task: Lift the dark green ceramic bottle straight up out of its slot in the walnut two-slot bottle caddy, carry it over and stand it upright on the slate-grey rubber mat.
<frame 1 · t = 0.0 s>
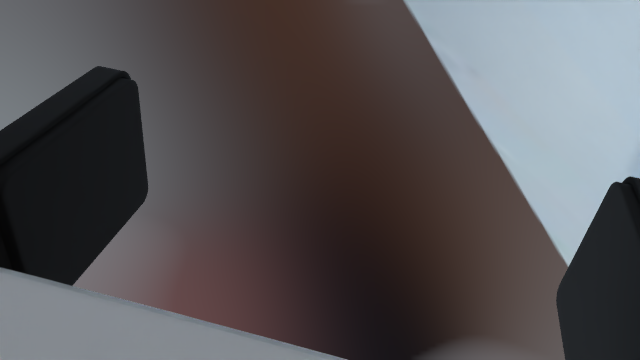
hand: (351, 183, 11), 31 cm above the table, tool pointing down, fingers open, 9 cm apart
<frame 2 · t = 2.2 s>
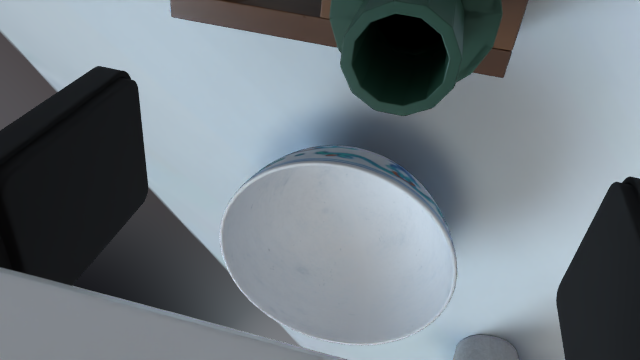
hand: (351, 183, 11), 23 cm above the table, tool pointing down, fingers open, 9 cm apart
chinaware: (355, 191, 40), on the table
house plant: (469, 349, 47), on the table
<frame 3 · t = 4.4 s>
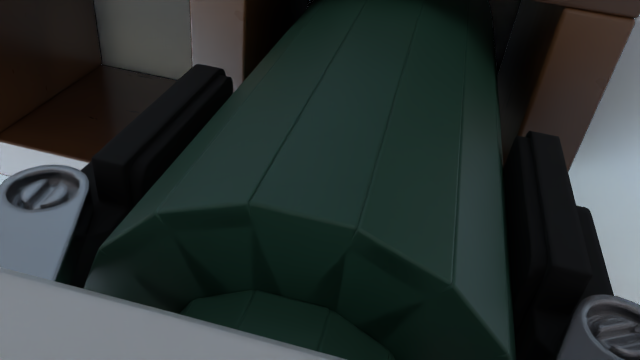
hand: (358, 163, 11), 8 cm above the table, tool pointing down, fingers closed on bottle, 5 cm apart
bottle: (402, 36, 18), resting in caddy, touching gripper
caddy: (286, 14, 18), on the table
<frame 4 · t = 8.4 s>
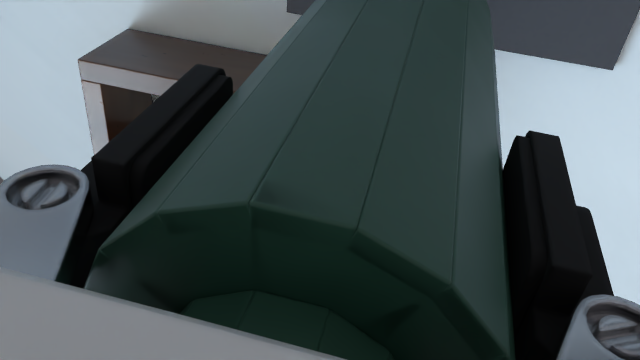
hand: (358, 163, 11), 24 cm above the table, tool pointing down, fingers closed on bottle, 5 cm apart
bottle: (401, 38, 18), point 16 cm above the table, touching gripper
caddy: (242, 110, 40), on the table
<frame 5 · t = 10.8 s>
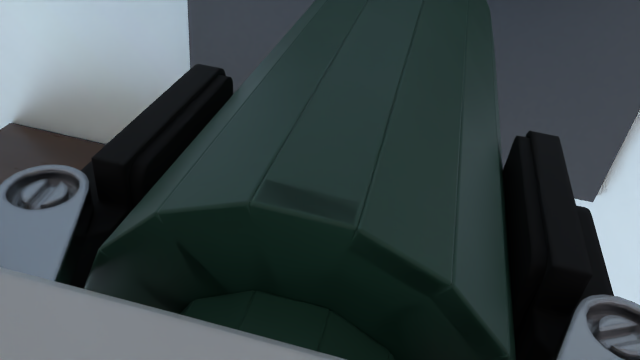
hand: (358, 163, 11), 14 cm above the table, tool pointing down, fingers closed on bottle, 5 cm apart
bottle: (401, 38, 18), point 6 cm above the table, touching gripper
caddy: (153, 217, 33), on the table
when the fingers open (8 cm above the table, at t = 12.4 s): bottle stays where it is, resting on mat.
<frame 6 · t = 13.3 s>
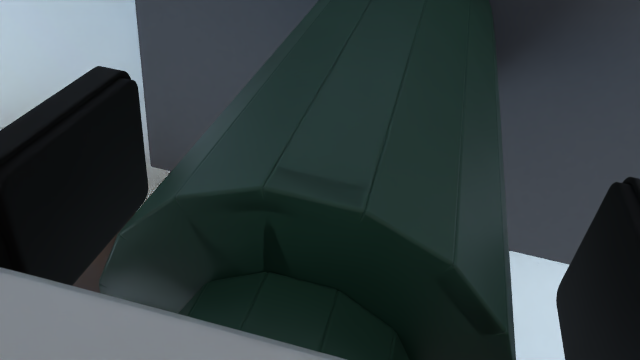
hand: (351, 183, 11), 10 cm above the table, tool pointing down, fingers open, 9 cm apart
mat: (407, 31, 19), on the table
bottle: (404, 35, 18), resting on mat
caddy: (115, 271, 30), on the table
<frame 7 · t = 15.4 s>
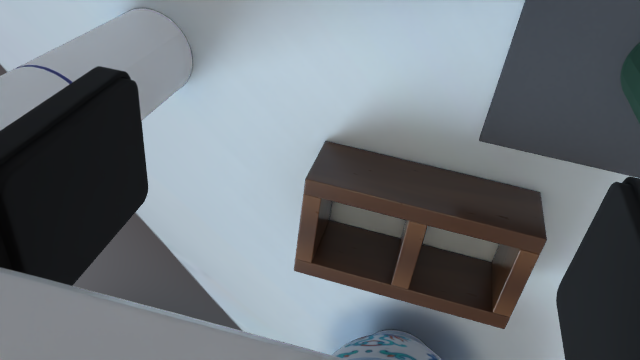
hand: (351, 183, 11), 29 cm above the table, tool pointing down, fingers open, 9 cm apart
chinaware: (397, 351, 56), on the table
caddy: (416, 211, 46), on the table
cylindrical container: (153, 51, 45), on the table
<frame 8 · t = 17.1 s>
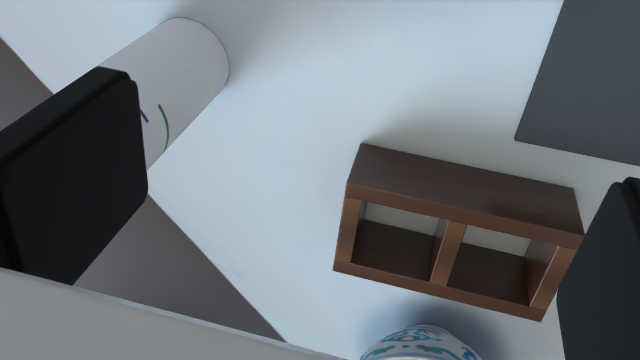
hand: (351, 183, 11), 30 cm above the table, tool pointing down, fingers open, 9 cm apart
chinaware: (428, 344, 57), on the table
caddy: (450, 209, 47), on the table
cylindrical container: (189, 59, 45), on the table
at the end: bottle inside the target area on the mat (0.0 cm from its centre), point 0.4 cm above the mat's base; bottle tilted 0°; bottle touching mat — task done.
